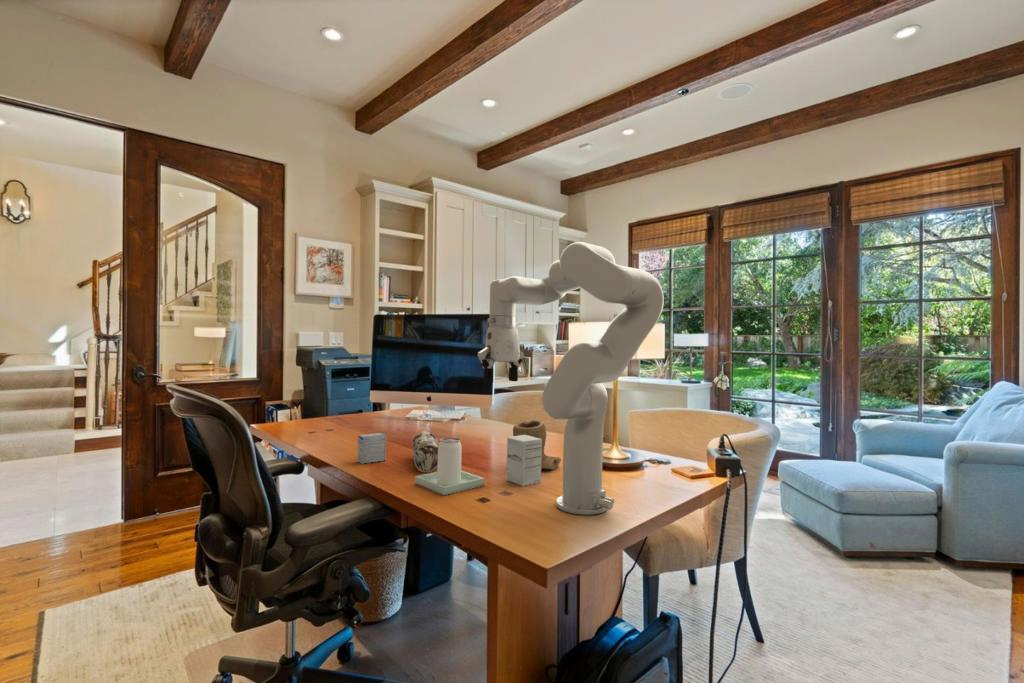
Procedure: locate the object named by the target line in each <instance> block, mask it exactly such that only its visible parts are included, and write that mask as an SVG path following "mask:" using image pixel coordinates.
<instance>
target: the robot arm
mask: <svg viewBox="0 0 1024 683" xmlns="http://www.w3.org/2000/svg"><path fill="white" fill-rule="evenodd" d="M578 289H582V290H584V291H585V292H587V293H588V294H589V295H591V296H592V297H593V298H595V299H597V300H598V301H600V302H603V303H606V304H610V305H619V306H624V308H623V309H622V311H620V312H619V314H618V315H616V316H615V317H614V318H613V319H612V320H611V321H610V323H609V324H608V326H607V328H606V329H605V331H604V332H603V333H602V335H601V337H600V338H598V339H597V340H596V341H583V342H578V343H576V344H574V345H573V346H571V347H570V348H569V349H568V350H567V351H566V352H565V353H564V355H563V356H562V358H561V360H560V361H559V363H558V365H557V366H556V368H555V370H554V371H553V373H552V375H551V376H550V378H549V379H548V381H547V383H546V384H545V387H544V389H543V392H542V397H541V398H542V402H541V403H542V406H543V409H544V411H545V413H546V415H548V416H549V417H550V418H553V419H554V420H560V421H562V420H567V421H566V423H565V426H564V431H563V448H562V450H563V453H562V455H563V457H562V495H560V496H558V497H557V498H556V500H555V505H556V507H557V508H558V509H559V510H561V511H563V512H566V513H569V514H574V515H581V516H582V515H583V516H585V515H586V516H589V515H599V514H601V513H605V512H606V511H607V510H610V511H611V510H612V509H613V507H614V505H615V504H614V503H615V499H614V498H611V497H607V496H606V495H607V493H606V490H605V489H603V453H604V452H603V451H604V450H603V447H604V427H605V426H604V425H605V418H606V414H607V410H608V409H607V408H608V402H609V400H608V399H609V398H608V392H607V389H606V387H605V385H604V384H606V383H611V382H614V381H617V379H619V378H620V377H621V375H622V374H623V373H624V371H625V370H626V368H627V367H628V365H629V364H630V362H631V361H632V360H633V358H634V356H635V355H636V353H637V352H638V351H639V349H640V347H641V345H642V344H643V342H644V341H645V340H646V339H647V337H648V335H649V334H650V332H652V330H653V328H654V327H655V326H656V325H657V322H658V321H659V319H660V317H661V315H662V312H663V309H664V302H665V301H664V300H665V299H664V298H665V297H664V292H663V288H662V285H661V283H660V282H659V280H658V279H657V278H656V277H655V275H653V274H651V273H650V272H648V271H646V270H644V269H640V268H635V267H630V266H625V265H621V264H617V263H616V259H615V257H614V255H613V253H612V252H611V251H610V250H609V249H607V248H605V247H603V246H600V245H595V244H593V243H592V244H591V243H589V242H582V241H576V242H572V243H571V244H568V245H567V246H566V247H565V248H564V249H563V250H562V252H561V254H560V257H559V259H557V260H555V261H554V262H552V263H551V264H550V266H549V269H548V276H546V277H543V278H539V279H537V278H533V277H525V276H518V275H517V276H508V277H506V278H504V279H501V278H500V279H499V278H498V279H494V280H491V282H490V285H489V314H488V315H489V318H487V323H488V325H489V326H488V327H487V331H486V335H485V342H484V343H485V344H484V348H483V349H482V350H480V351H478V352H477V357H478V360H479V363H480V364H481V367H482V368H483V382H484V383H487V384H493V383H494V368H493V366H494V365H495V363H496V362H497V363H508V364H509V366H510V367H508V381H510V382H518V379H519V368H520V365H521V364H522V363H523V358H524V356H525V353H524V351H522V350H521V349H520V338H519V330H518V327H516V308H517V307H516V305H527V306H541V305H543V306H544V305H545V304H549V303H553V302H556V301H558V300H560V299H562V298H564V297H565V296H566V294H568V293H569V292H572V291H575V290H578Z"/></svg>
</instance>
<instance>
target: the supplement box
mask: <svg viewBox="0 0 1024 683" xmlns="http://www.w3.org/2000/svg"><path fill="white" fill-rule="evenodd" d="M506 439H507V440H506V441H507V444H506V453H507V454H506V474H505V475H506V479H505V480H506V482H507V481H508V482H511V483H513V484H516V485H519V486H521V487H526V486H525V485H527V486H530V485H529V484H531V485H534V484H533V483H536V484H539V483H538V482H540V483H542V469H541V457H542V439H539V438H536V437H532V436H528V435H519V436H513V435H512V436H508V437H507V438H506Z"/></svg>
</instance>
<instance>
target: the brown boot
mask: <svg viewBox="0 0 1024 683" xmlns="http://www.w3.org/2000/svg"><path fill="white" fill-rule="evenodd" d="M519 435H528V436H532V437H536V438H539V439H542V457H541V470H555V469H557V468H558V467H559V465H560V463H561V460H562V458H561V457H559V456H558V457H557V456H548V455H547V454H545V445H546V441H547V428H546V424H545V423H544V422H543V421H541V420H537V419H535V420H534V419H533V420H530V421H526V420H523V421H522V420H521V421H520V422H518V423H515V424H514V426H513V428H512V437H513V436H519Z"/></svg>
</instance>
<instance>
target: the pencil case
mask: <svg viewBox="0 0 1024 683" xmlns="http://www.w3.org/2000/svg"><path fill="white" fill-rule="evenodd" d="M411 444H412V449H413V455H412V458H413V462H414V465H415V467H416V468H417V470H418V471H419V472H421V473H424V474H429V473H428V472H430V473H433V471H435V470H436V469H438V445H439V441H438V439H437V437H436V435H435V434H433V433H432V432H429V431H428V430H423V431H420V432H419V433H417V434H416V435H415V436H414V437H413V439H412V443H411ZM425 472H427V473H425Z"/></svg>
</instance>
